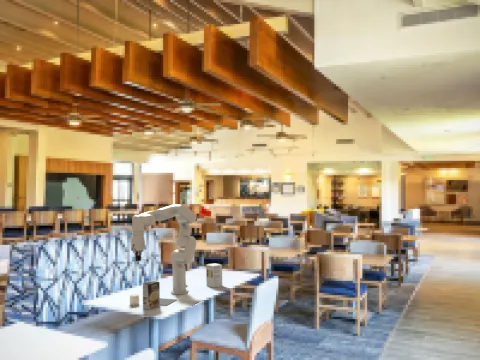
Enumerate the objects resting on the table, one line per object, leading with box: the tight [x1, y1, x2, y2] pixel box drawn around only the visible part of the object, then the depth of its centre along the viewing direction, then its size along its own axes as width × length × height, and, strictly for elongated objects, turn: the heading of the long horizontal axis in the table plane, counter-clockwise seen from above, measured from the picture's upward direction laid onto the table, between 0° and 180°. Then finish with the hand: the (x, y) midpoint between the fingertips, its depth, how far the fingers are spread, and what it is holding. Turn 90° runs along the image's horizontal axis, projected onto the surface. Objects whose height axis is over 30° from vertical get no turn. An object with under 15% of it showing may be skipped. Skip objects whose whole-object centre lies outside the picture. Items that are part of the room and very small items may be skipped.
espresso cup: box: [129, 294, 140, 307], centre depth 273 cm, size 6×6×6 cm
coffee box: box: [142, 280, 161, 310], centre depth 265 cm, size 9×6×16 cm
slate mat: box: [160, 298, 178, 307], centre depth 277 cm, size 15×16×1 cm
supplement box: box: [205, 262, 223, 288], centre depth 322 cm, size 10×9×17 cm
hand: (138, 261), depth 274 cm, fingers closed
